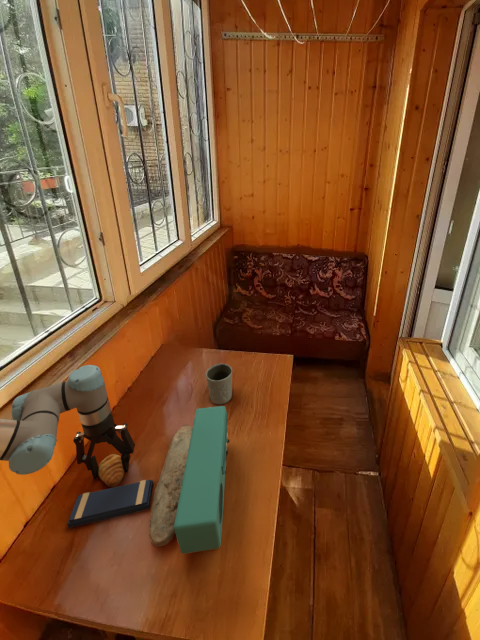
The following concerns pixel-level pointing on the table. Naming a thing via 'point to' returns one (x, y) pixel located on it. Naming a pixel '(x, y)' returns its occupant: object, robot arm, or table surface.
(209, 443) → the teal bluetooth speaker
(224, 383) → the grey stone cup
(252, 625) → the table surface
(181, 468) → the long grey stone
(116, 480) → the pastry
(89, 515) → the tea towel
